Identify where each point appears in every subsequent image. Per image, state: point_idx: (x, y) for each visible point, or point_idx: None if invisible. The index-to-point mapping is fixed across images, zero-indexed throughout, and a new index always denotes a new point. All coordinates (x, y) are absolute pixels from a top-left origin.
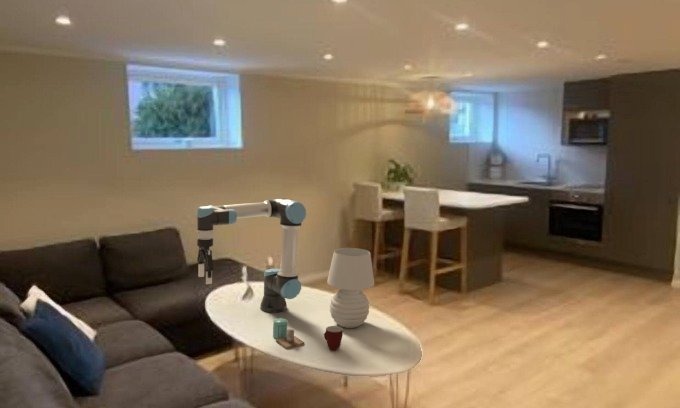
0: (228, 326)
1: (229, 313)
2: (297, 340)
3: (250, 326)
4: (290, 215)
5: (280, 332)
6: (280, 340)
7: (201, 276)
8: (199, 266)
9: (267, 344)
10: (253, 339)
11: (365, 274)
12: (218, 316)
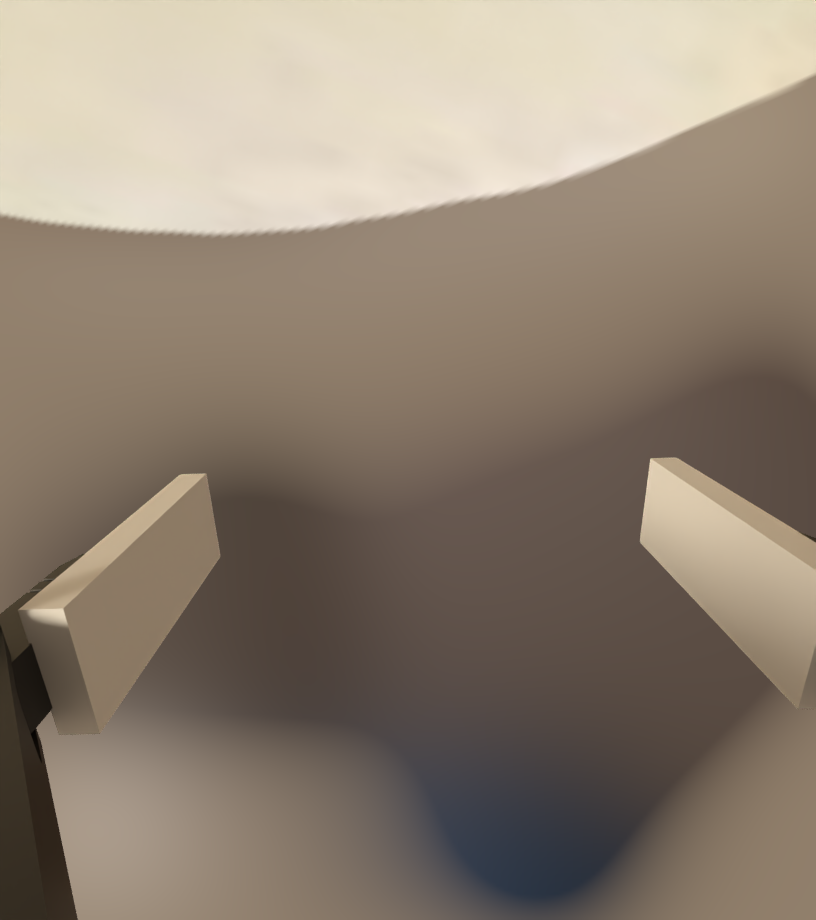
0: (368, 189)
1: (94, 91)
2: None
3: (429, 12)
4: None
5: None
6: None
7: (212, 518)
8: (125, 677)
9: (805, 13)
10: (671, 87)
11: None
12: (146, 202)
